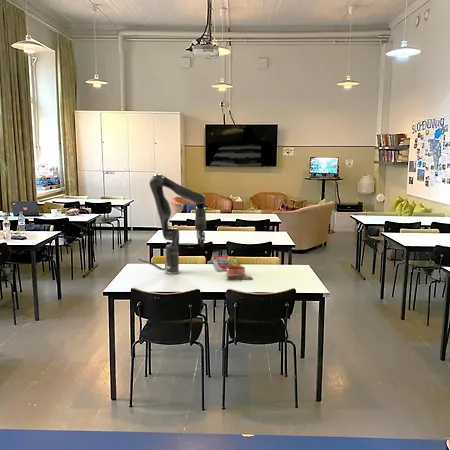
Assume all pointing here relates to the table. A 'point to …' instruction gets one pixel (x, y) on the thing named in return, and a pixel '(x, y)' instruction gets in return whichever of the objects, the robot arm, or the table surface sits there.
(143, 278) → the table surface
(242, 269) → the bowl
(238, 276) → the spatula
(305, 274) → the table surface
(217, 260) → the gear board
